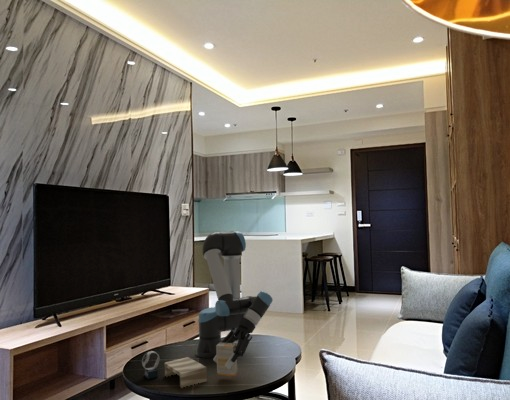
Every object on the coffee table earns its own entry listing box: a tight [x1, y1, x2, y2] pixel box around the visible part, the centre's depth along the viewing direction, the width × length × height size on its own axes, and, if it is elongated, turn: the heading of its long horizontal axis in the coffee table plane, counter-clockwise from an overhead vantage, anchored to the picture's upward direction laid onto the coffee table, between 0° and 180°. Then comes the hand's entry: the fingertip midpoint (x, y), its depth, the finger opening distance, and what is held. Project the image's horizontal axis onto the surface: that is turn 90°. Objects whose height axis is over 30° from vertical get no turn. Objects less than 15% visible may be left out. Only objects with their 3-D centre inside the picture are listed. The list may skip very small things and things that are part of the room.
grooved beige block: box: [164, 356, 208, 389], centre depth 180 cm, size 18×12×6 cm, turn 36°
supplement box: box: [216, 342, 238, 377], centre depth 177 cm, size 8×5×13 cm, turn 71°
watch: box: [141, 350, 161, 380], centre depth 184 cm, size 6×8×11 cm
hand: (220, 364), depth 175 cm, fingers closed on supplement box, 9 cm apart
